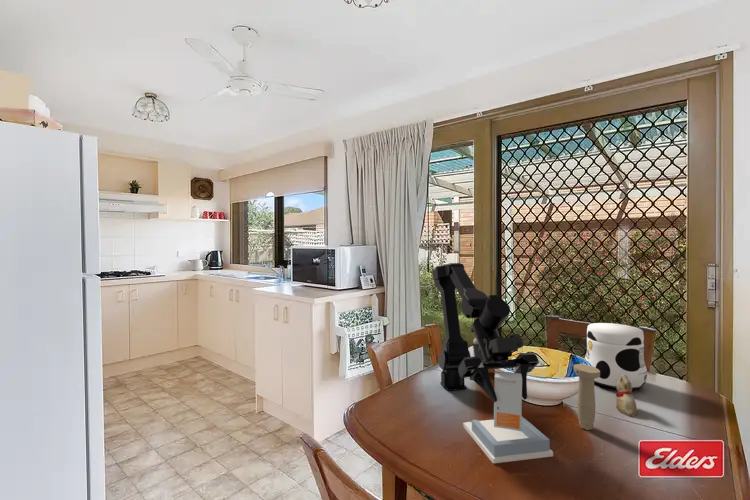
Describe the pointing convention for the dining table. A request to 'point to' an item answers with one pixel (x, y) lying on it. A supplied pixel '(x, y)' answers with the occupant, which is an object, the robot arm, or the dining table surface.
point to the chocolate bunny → (625, 397)
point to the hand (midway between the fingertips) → (510, 400)
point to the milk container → (616, 353)
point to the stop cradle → (509, 441)
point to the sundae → (476, 349)
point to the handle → (586, 394)
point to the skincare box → (508, 400)
